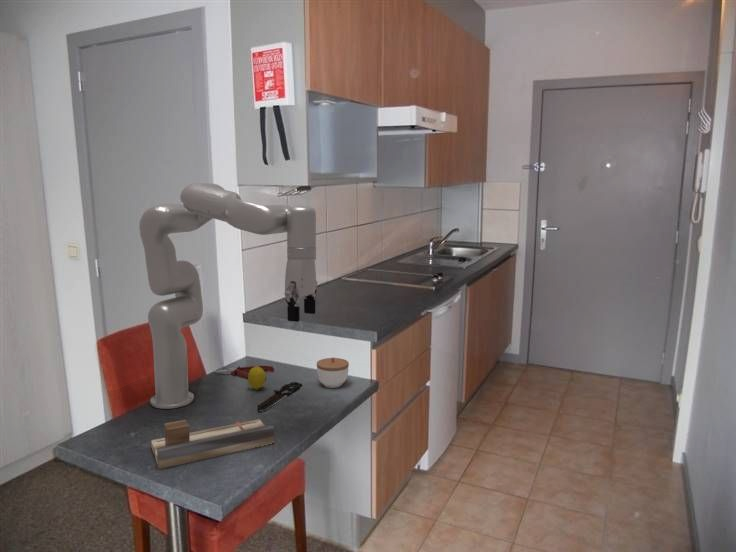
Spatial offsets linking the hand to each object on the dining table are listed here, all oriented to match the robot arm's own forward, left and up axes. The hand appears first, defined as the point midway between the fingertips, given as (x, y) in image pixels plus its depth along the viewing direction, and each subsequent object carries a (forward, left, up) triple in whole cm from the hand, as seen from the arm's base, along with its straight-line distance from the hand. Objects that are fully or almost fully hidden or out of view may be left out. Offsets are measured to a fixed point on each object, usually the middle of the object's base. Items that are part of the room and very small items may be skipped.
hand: (301, 317), depth 146 cm
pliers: (-50, -1, -32) cm, 59 cm away
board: (0, -25, -31) cm, 39 cm away
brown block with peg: (0, -33, -29) cm, 44 cm away
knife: (-23, +1, -32) cm, 39 cm away
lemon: (-33, -3, -31) cm, 45 cm away
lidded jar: (-26, +21, -31) cm, 46 cm away
